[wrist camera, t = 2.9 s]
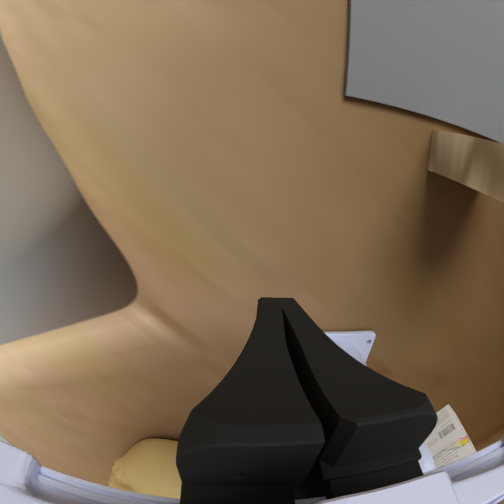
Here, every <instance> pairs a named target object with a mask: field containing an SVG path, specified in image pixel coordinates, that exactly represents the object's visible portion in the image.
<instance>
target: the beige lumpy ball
mask: <svg viewBox="0 0 504 504" xmlns="http://www.w3.org/2000/svg"><path fill="white" fill-rule="evenodd" d="M177 445H178V441H174V440H168V439H159V438H150V439H145V440H142V441H140V442H138V443H137V444H135V445H134V446H133V447H131V448H130V449H129V450H128V451H127V452H126V454H125V455H124V456H123V457H121V458H119V459H117V460H116V461H115V465H114V466H113V467H112V473H111V476H110V478H109V480H108V484H109V487H112V488H116V489H121V490H126V491H131V492H136V493H141V494H147V495H153V496H160V497H167V498H176V499H180V496H181V484H182V482H181V479H180V476H179V472H178V469H177V466H176V453H177Z"/></svg>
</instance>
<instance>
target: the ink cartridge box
mask: <svg viewBox="0 0 504 504" xmlns="http://www.w3.org/2000/svg"><path fill="white" fill-rule="evenodd" d="M436 414H437V417H438V420H437V424H436V426H435V428H434V430H433V431H432V433H431V434H430V435H429V436H428V438H427V439H426V440H425V442H426V444H427V446H428V448H429V451H430V453H431V456H432V458H433V461H434V464H435V467H436V468H439V467H442V466H444V465H447V464H450V463H452V462H455V461H457V460H459V459H462V458H464V457H467V456H469V455H471V454H473V453H475V452H476V450H475V448H474V446H473V444H472V442H471V440H470V439H469V437H468V435H467V433H466V431H465V430H464V428H463V426H462V424H461V422H460V421H459V419H458V417H457V416H456V414H455V412H454V411H453V410H452V408H451V407H450V406H449V405H446V406H445V407H443V408H442V409H440V410H439V411H438V412H436Z"/></svg>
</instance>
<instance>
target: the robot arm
mask: <svg viewBox="0 0 504 504" xmlns="http://www.w3.org/2000/svg"><path fill="white" fill-rule="evenodd" d="M375 337H376V335H375V333H374V332H373V331H350V332H323V331H322V330H321V329H320V328H319V327H318V326H317V325H316V324H315V323H314V321H313V320H312V319H311V318H310V317H309V316H308V315H307V314H306V312H305V311H304V310H303V309H302V308H301V306H300V305H299V304H298V303H297V302H296V301H295V299H294V298H266V297H261V298H260V299H259V300H258V307H257V318H256V321H255V324H254V327H253V330H252V332H251V334H250V337H249V339H248V341H247V343H246V345H245V347H244V349H243V351H242V353H241V354H240V356H239V358H238V359H237V361H236V362H235V364H234V365H233V367H232V368H231V369H230V371H229V372H228V373H227V375H226V376H225V377H224V378H223V380H222V381H221V382H220V383H219V384H218V385H217V386H216V388H215V389H214V390H213V391H212V392H211V393H210V394H209V395H208V396H207V397H206V398H205V399H203V400H202V401H201V402H200V403H199V404H198V405H197V406H196V407H194V408H193V409H192V411H191V413H190V415H189V417H188V419H187V421H186V423H185V425H184V427H183V429H182V432H181V434H180V437H179V441H178V445H177V453H176V466H177V469H178V472H179V476H180V479H181V482H182V484H181V496H180V499H176V498H167V497H160V496H153V495H147V494H141V493H136V492H131V491H126V490H121V489H116V488H112V487H108V486H104V485H100V484H96V483H92V482H89V481H85V480H82V479H78V478H75V477H72V476H69V475H66V474H63V473H60V472H57V471H54V470H51V469H49V468H46V467H43V466H41V465H40V463H39V462H38V461H37V460H36V458H34V457H33V456H32V455H31V454H29V453H28V452H26V451H24V450H22V449H20V448H17V447H15V446H13V445H11V444H8V443H6V442H4V441H0V504H496V503H498V502H499V501H501V500H503V499H504V437H503V438H502V440H500V441H498V442H496V443H494V444H492V445H490V446H488V447H486V448H484V449H482V450H480V451H478V452H475V453H473V454H471V455H469V456H467V457H464V458H462V459H459V460H457V461H455V462H452V463H450V464H447V465H444V466H442V467H439V468H436V467H435V464H434V461H433V458H432V456H431V453H430V451H429V448H428V446H427V444H426V442H425V440H426V439H427V438H428V436H429V435H430V434H431V433H432V431H433V430H434V428H435V426H436V424H437V420H438V417H437V414H436V412H435V410H434V408H433V406H432V404H431V403H430V401H429V399H428V397H427V396H426V394H425V393H422V392H420V391H417V390H414V389H412V388H409V387H406V386H404V385H401V384H399V383H397V382H395V381H392V380H390V379H388V378H386V377H384V376H382V375H381V374H379V373H377V372H375V371H373V370H372V369H370V368H369V367H367V365H366V360H367V358H368V355H369V353H370V350H371V348H372V345H373V342H374V340H375ZM368 340H369V341H368ZM367 341H368V342H367Z"/></svg>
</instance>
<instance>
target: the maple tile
mask: <svg viewBox="0 0 504 504" xmlns="http://www.w3.org/2000/svg"><path fill="white" fill-rule="evenodd" d="M427 170H429V171H432V172H434V173H437V174H439V175H442V176H444V177H447V178H449V179H452V180H454V181H456V182H459V183H461V184H463V185H466V186H468V187H470V188H472V189H475V190H477V191H479V192H481V193H483V194H486V195H488V196H490V197H492V198H494V199H496V200H498V201H500V202H502V203H504V144H502V143H498V142H494V141H490V140H485V139H481V138H477V137H472V136H467V135H462V134H457V133H452V132H446V131H441V130H435V129H433V134H432V142H431V149H430V156H429V162H428V168H427Z"/></svg>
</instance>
